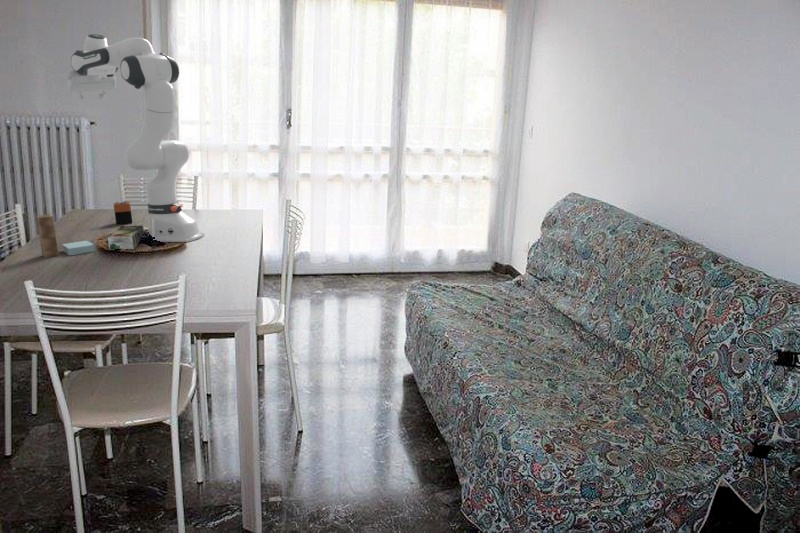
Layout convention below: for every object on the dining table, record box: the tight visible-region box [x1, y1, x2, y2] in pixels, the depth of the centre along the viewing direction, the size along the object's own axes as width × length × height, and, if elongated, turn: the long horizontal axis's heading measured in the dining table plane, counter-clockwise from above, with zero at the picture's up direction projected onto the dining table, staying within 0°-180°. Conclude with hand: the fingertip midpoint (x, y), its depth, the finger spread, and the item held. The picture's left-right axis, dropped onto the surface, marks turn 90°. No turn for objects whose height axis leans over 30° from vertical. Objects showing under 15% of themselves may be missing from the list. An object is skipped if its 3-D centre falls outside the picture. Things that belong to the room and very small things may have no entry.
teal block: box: [61, 240, 95, 256], centre depth 263 cm, size 9×9×3 cm
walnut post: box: [35, 214, 59, 258], centre depth 256 cm, size 4×4×15 cm
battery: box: [113, 200, 133, 225], centre depth 309 cm, size 4×7×10 cm, turn 114°
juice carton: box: [107, 225, 145, 251], centre depth 272 cm, size 20×10×6 cm, turn 8°
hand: (90, 98), depth 307 cm, fingers open, 8 cm apart
